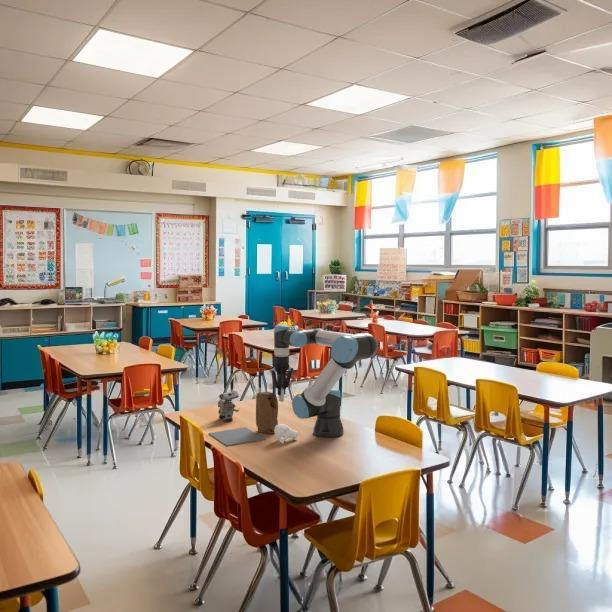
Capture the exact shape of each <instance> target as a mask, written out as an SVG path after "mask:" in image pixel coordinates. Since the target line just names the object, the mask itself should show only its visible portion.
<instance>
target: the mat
mask: <svg viewBox="0 0 612 612" xmlns="http://www.w3.org/2000/svg"><path fill="white" fill-rule="evenodd" d="M208 435H209V436H211V437H212V438H213V439H215V440H217V441H218V442H219V443H221V444H223V445H224V446H226V447H231V446H232V447H233V446H237V445H243V444H247V443H254V442H259V441H264V440H266V438H265V437H263V436H262V435H260V434H258V433H256V432H255V431H253V430H252V429H249V428H248V427H246V426H244V427H239V428H238V427H237V428H233V429H231V428H230V429H226V430H225V429H224V430H220V431H214V432H213V431H212V432H208Z"/></svg>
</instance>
